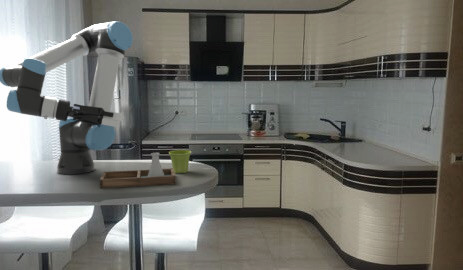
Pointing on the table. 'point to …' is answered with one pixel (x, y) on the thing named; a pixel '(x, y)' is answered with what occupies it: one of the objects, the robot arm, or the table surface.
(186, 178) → the table surface
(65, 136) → the robot arm
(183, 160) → the plant pot
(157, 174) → the flask
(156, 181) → the walnut caddy
